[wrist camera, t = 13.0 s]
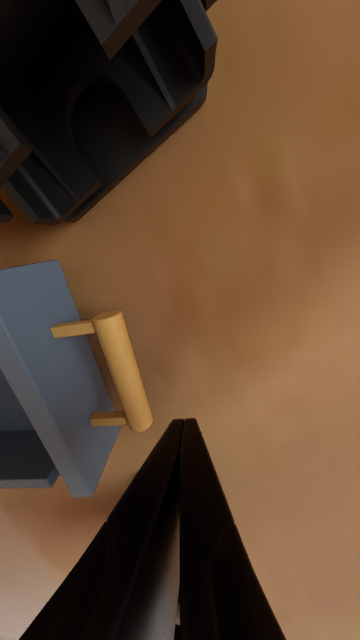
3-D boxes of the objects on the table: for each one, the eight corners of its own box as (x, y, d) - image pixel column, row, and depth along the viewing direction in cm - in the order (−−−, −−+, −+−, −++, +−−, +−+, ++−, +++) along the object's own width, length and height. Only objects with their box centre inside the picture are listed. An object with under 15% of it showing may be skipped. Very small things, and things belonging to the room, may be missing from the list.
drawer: (121, 247, 11) (70, 255, 7) (167, 425, 16) (155, 497, 11) (-125, 294, 14) (-273, 321, 10) (-25, 435, 18) (-95, 498, 14)
